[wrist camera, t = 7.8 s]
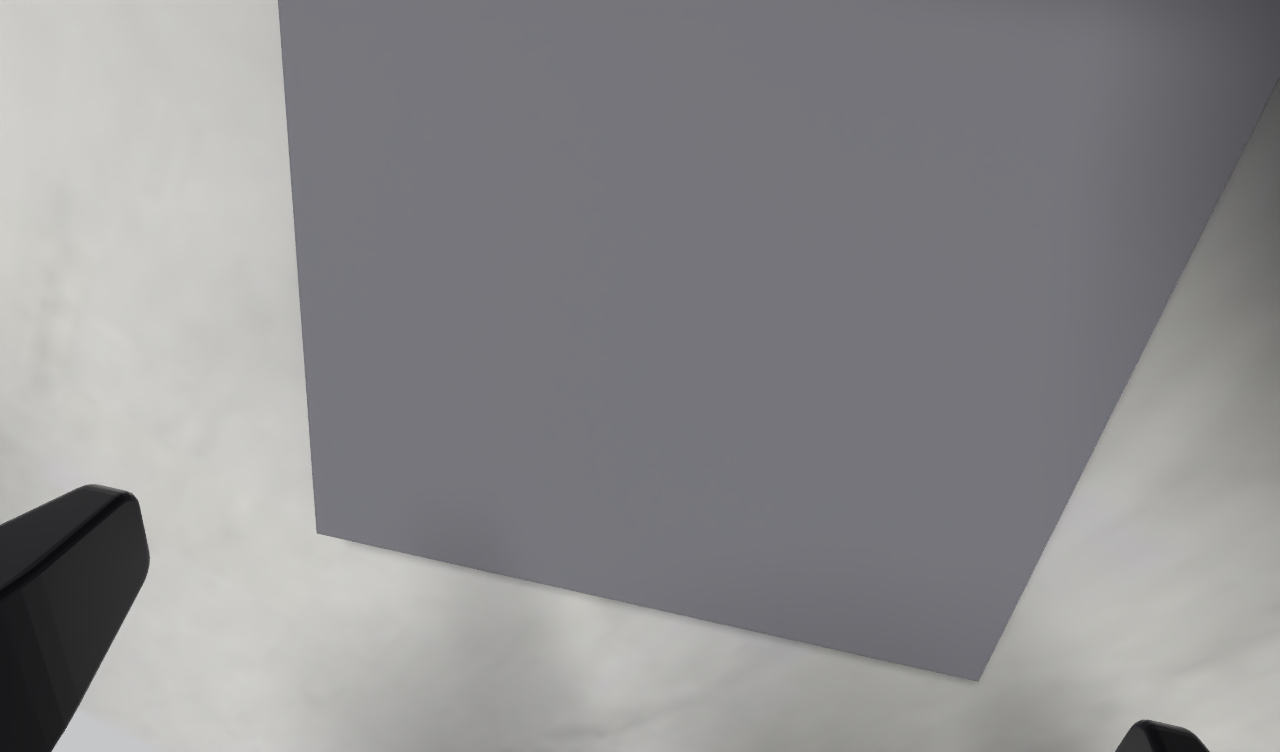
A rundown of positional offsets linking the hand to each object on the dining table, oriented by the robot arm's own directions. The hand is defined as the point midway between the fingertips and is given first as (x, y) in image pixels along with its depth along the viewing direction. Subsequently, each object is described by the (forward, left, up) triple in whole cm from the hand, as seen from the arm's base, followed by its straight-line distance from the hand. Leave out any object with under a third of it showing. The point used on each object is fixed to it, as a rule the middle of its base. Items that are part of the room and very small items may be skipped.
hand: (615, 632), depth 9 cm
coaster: (0, 0, -6) cm, 6 cm away
